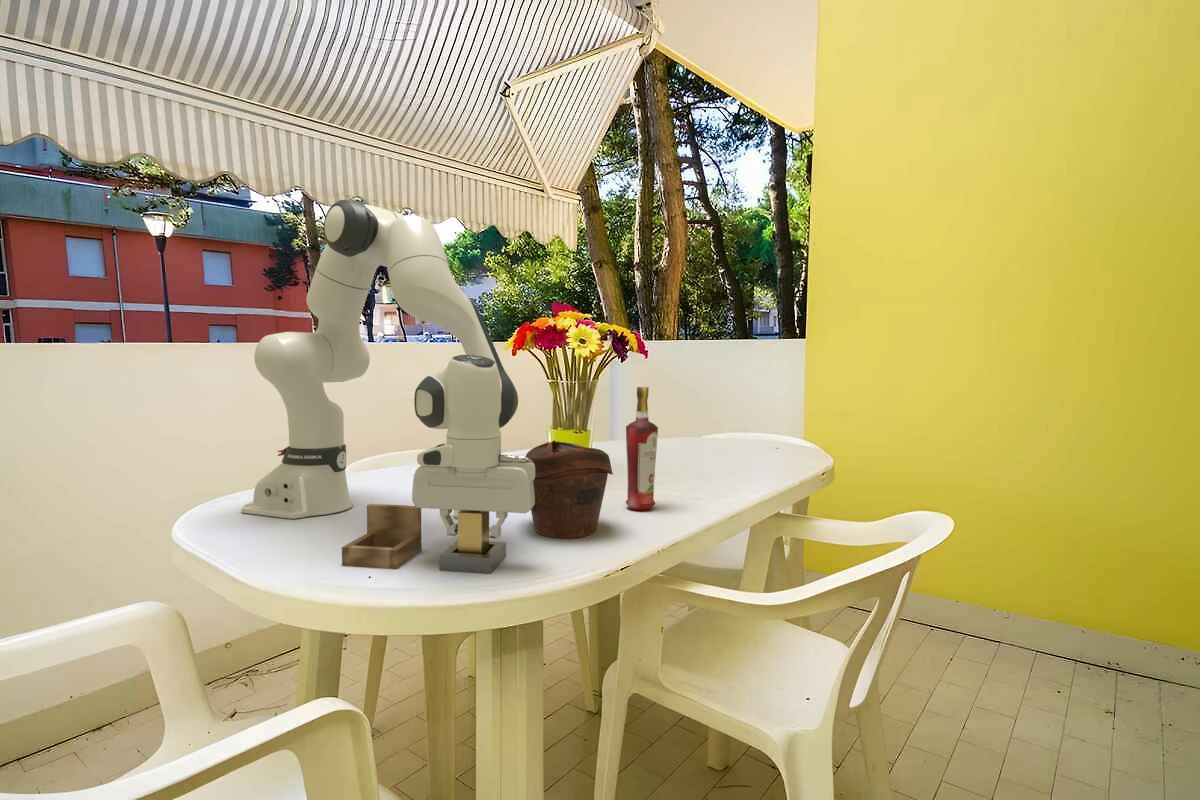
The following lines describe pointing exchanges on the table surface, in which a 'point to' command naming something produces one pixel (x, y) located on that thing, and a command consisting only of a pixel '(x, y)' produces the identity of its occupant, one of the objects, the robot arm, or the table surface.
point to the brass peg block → (473, 532)
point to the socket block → (472, 559)
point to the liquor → (641, 456)
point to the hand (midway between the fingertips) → (473, 536)
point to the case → (568, 488)
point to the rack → (386, 537)
